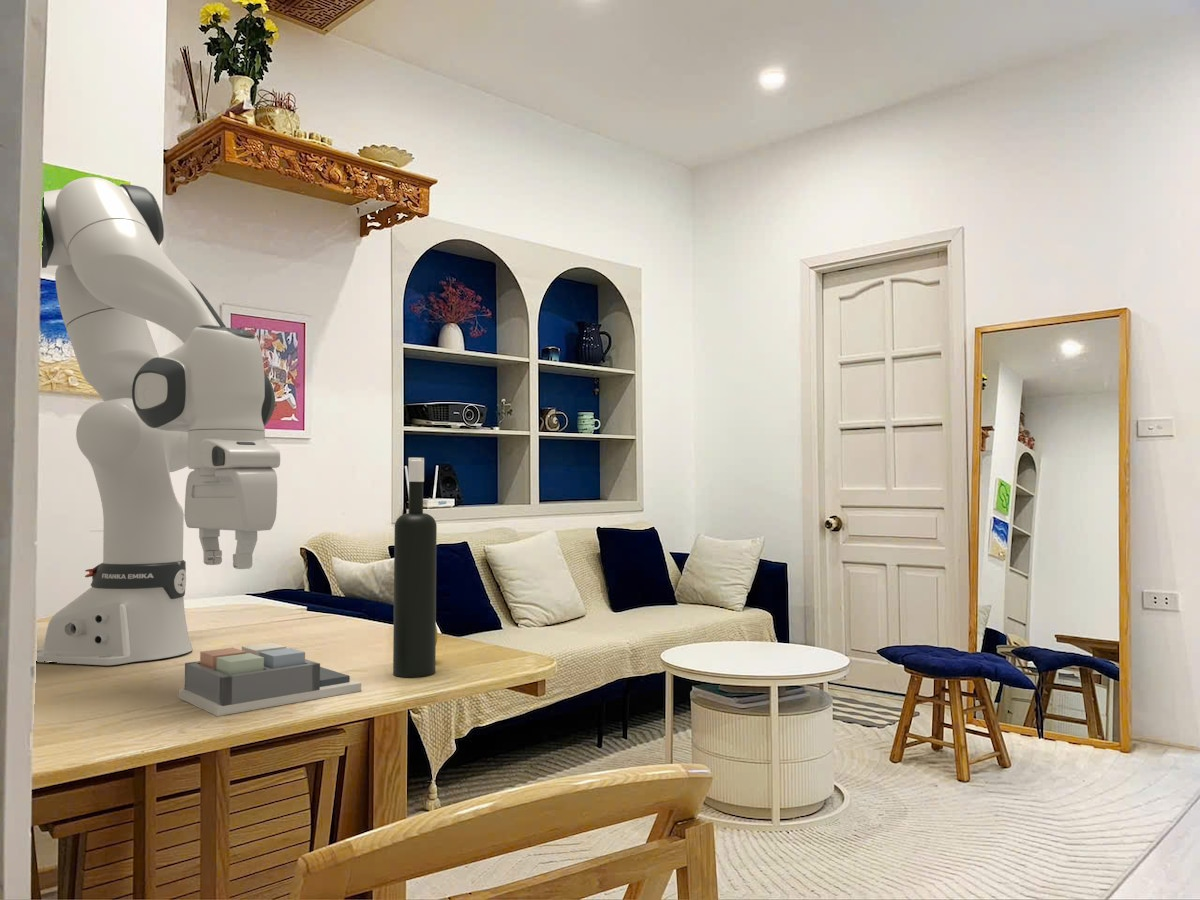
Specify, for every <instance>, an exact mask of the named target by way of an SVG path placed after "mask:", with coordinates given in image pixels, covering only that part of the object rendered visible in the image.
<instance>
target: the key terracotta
mask: <svg viewBox="0 0 1200 900" xmlns="http://www.w3.org/2000/svg"><path fill="white" fill-rule="evenodd" d="M239 654H246V652H245V651H242V649H240V648H239V649H238V648H235V647H228V648H220V649H210V650H203V651H200V652H199V655H200V656H199V657H200V659H199V661H200V665H203V666H206V667H208V668H211V669H212V668H216V666H217V657H224V656H231V655H239Z"/></svg>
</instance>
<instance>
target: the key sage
mask: <svg viewBox="0 0 1200 900" xmlns="http://www.w3.org/2000/svg"><path fill="white" fill-rule="evenodd" d="M261 670H264V657H261V656H257V655H254V654H251V653H246V654H239V655H231V656H224V657H217V666H216V671H219V672H221V673H224V674H227V675H233V674H240V673H247V672H254V671H261Z"/></svg>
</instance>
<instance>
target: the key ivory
mask: <svg viewBox="0 0 1200 900" xmlns="http://www.w3.org/2000/svg"><path fill="white" fill-rule="evenodd" d="M285 648H287V646H286V645H283V644H279V643H275V642H268V643H258V644H250V645H241V650H242V651H245V652H246V653H251V654H254V655H257V656H259V652H263V651H270V650H278V649H285Z"/></svg>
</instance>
